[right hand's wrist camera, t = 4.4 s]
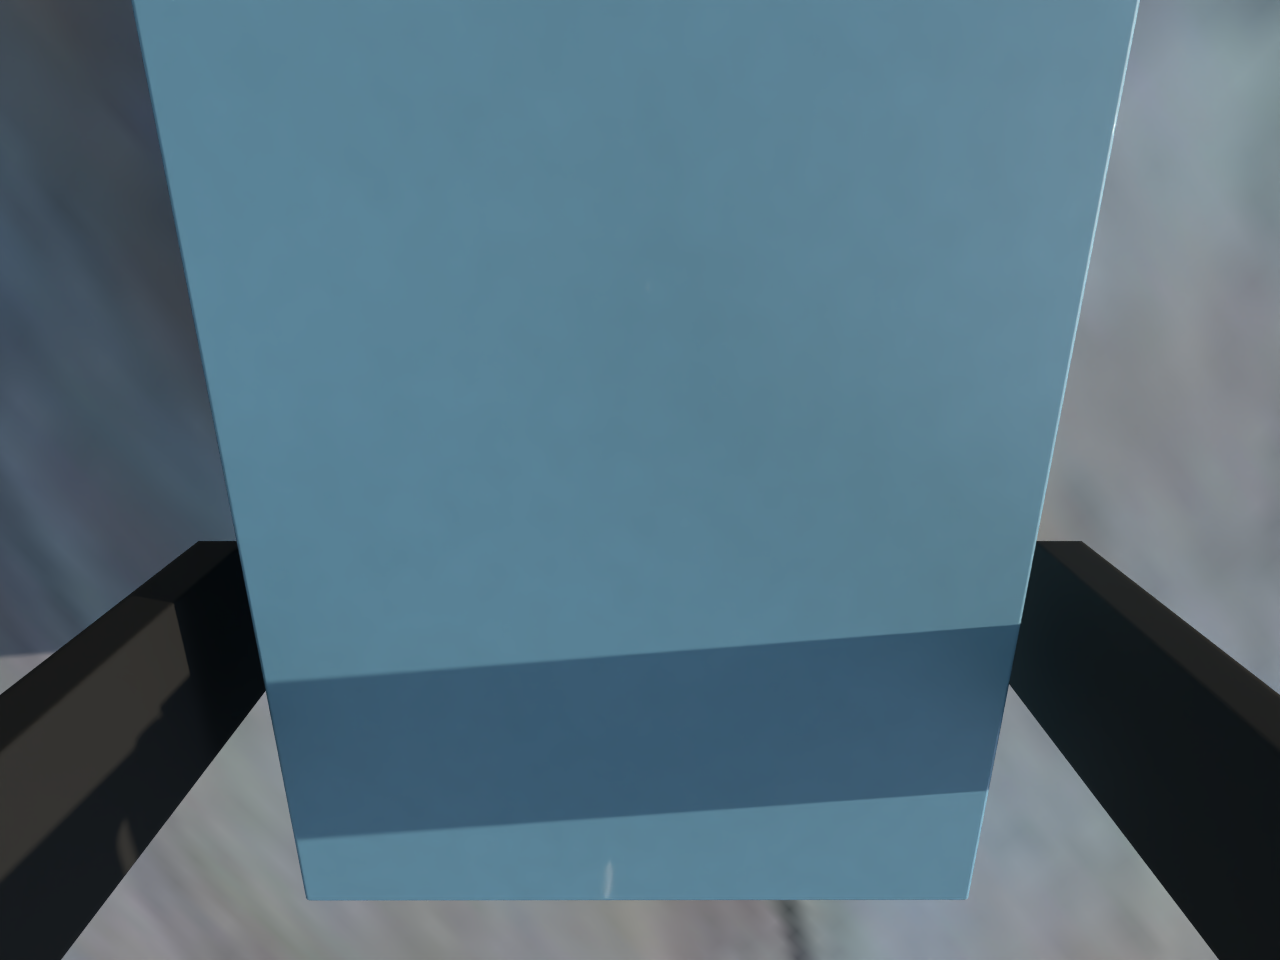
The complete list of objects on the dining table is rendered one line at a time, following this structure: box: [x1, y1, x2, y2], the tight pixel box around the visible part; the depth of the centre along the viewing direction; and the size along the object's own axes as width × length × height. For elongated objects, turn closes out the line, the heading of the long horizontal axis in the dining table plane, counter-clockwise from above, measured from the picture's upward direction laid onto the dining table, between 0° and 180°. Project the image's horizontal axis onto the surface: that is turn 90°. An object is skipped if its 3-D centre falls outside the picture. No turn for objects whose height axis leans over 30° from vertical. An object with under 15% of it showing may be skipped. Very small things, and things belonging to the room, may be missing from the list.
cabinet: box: [131, 0, 1140, 900], centre depth 13 cm, size 21×10×10 cm, turn 0°
